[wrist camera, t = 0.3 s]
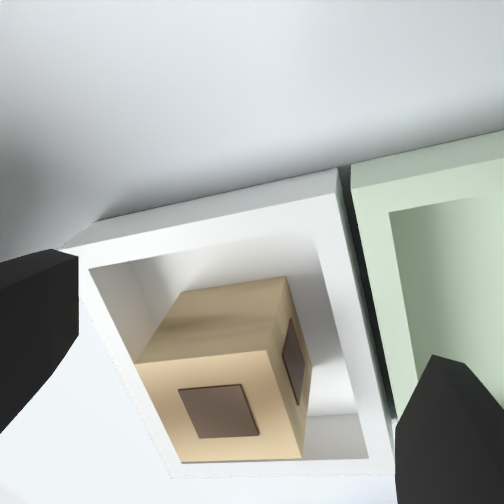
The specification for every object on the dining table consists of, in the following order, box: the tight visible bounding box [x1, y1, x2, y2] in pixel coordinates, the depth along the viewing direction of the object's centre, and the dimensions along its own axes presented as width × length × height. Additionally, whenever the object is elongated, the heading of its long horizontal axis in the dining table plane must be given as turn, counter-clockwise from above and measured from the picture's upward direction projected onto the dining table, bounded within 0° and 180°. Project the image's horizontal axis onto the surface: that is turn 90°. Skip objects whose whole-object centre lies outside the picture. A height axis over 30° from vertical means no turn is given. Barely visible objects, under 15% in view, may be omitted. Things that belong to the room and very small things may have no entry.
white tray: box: [57, 167, 395, 478], centre depth 20 cm, size 13×11×3 cm
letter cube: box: [134, 276, 313, 462], centre depth 18 cm, size 5×5×5 cm
